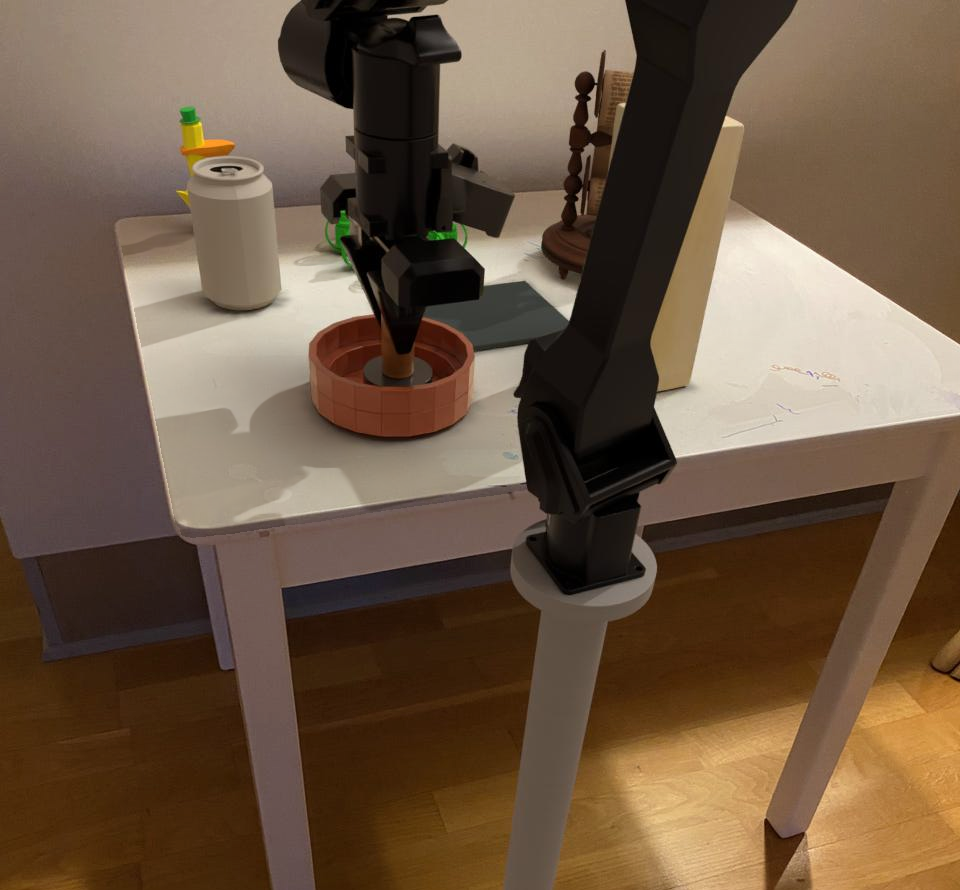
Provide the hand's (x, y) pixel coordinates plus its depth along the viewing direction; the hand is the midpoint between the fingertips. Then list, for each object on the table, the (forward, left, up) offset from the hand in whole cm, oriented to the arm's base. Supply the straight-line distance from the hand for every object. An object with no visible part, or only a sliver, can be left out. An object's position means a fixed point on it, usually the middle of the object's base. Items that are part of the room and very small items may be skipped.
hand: (397, 345), depth 74 cm
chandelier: (+30, -11, -6) cm, 32 cm away
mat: (+13, -13, -5) cm, 19 cm away
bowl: (+1, 0, -5) cm, 5 cm away
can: (+24, +7, -6) cm, 26 cm away
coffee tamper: (0, 0, -5) cm, 5 cm away
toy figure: (+42, +6, -6) cm, 43 cm away
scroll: (+21, -32, -6) cm, 39 cm away
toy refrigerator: (-1, -22, -6) cm, 23 cm away
